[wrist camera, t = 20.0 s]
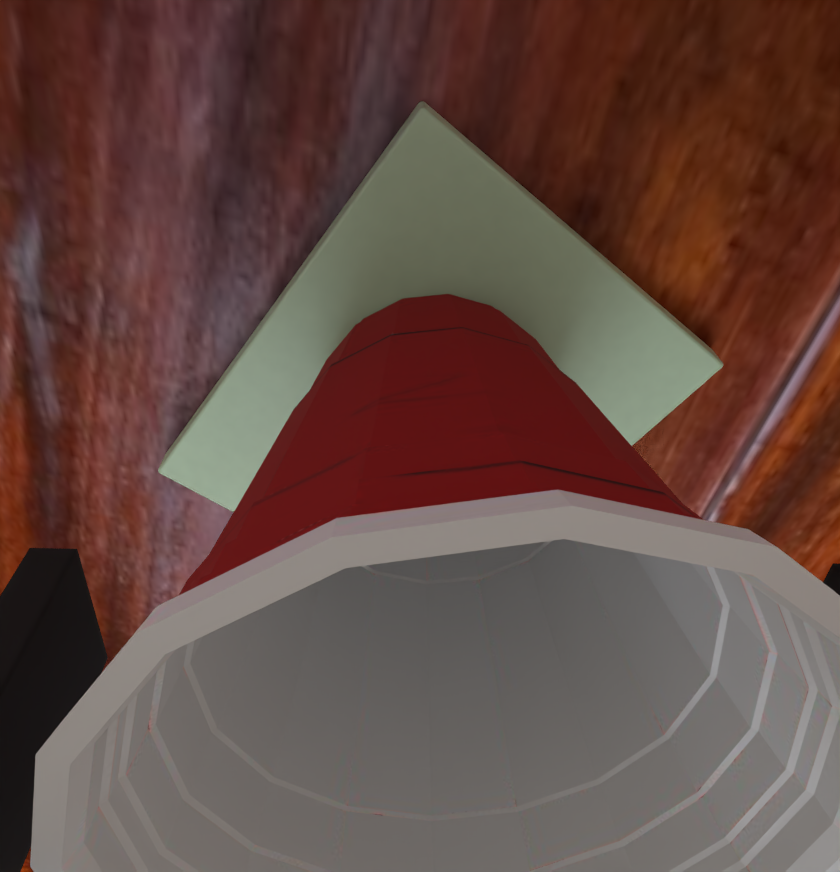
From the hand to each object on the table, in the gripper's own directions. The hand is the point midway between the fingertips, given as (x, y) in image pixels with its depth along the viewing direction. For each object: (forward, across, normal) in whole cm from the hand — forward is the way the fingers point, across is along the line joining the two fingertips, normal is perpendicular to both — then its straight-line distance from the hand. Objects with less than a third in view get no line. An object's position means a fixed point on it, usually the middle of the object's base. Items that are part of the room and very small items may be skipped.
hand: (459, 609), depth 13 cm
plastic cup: (+7, 0, 0) cm, 7 cm away
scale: (+8, 0, -1) cm, 8 cm away
